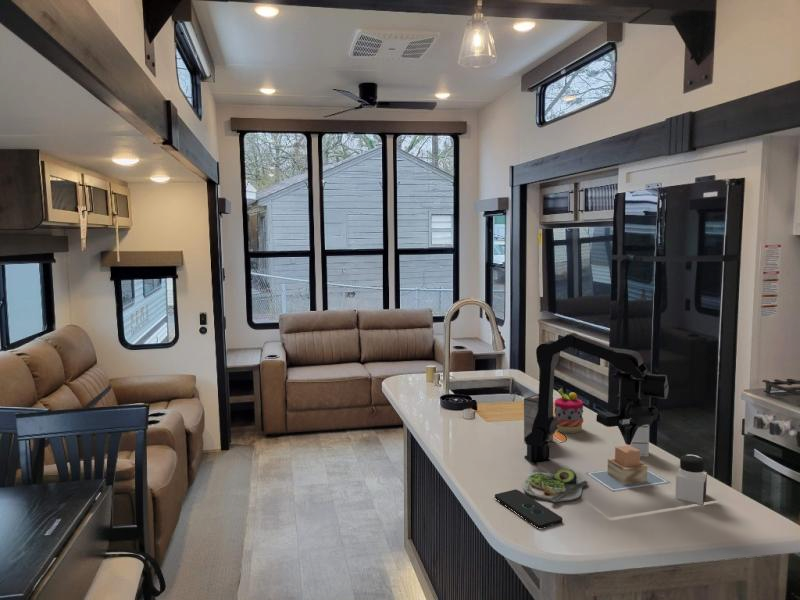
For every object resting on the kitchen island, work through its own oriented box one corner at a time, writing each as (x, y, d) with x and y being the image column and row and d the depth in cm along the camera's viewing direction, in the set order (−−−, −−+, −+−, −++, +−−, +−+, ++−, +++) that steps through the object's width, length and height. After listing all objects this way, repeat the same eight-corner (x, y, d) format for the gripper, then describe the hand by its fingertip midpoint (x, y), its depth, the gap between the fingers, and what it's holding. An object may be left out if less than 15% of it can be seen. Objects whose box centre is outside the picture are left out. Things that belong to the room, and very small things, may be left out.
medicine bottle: (703, 506, 163) (705, 463, 162) (674, 500, 167) (676, 458, 166) (706, 496, 169) (707, 455, 168) (678, 490, 173) (680, 450, 172)
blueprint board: (612, 493, 172) (612, 491, 172) (584, 474, 185) (584, 472, 185) (671, 484, 177) (671, 482, 177) (640, 466, 190) (640, 464, 190)
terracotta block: (625, 469, 177) (625, 452, 177) (614, 462, 182) (615, 446, 182) (639, 466, 179) (640, 450, 178) (629, 460, 184) (629, 445, 183)
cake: (581, 425, 231) (581, 387, 230) (584, 434, 221) (585, 394, 219) (553, 423, 233) (553, 386, 232) (555, 433, 223) (555, 393, 221)
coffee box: (538, 435, 220) (539, 393, 219) (553, 440, 216) (554, 396, 214) (523, 441, 214) (523, 398, 213) (538, 446, 210) (538, 401, 208)
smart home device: (538, 524, 152) (493, 494, 170) (538, 531, 152) (493, 500, 170) (564, 517, 155) (517, 488, 173) (564, 524, 156) (517, 494, 173)
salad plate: (583, 512, 162) (583, 495, 161) (516, 502, 168) (517, 486, 168) (588, 483, 179) (589, 468, 179) (528, 475, 186) (528, 461, 186)
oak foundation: (623, 484, 176) (624, 469, 176) (607, 474, 184) (607, 459, 183) (647, 481, 178) (647, 465, 178) (629, 470, 186) (630, 456, 185)
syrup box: (648, 458, 197) (650, 415, 196) (630, 457, 198) (631, 414, 197) (645, 452, 203) (646, 410, 201) (627, 451, 204) (628, 409, 202)
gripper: (619, 404, 168) (617, 457, 170) (675, 398, 173) (673, 450, 175) (595, 393, 178) (594, 444, 180) (649, 388, 183) (647, 437, 185)
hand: (627, 444), depth 180 cm, fingers closed
